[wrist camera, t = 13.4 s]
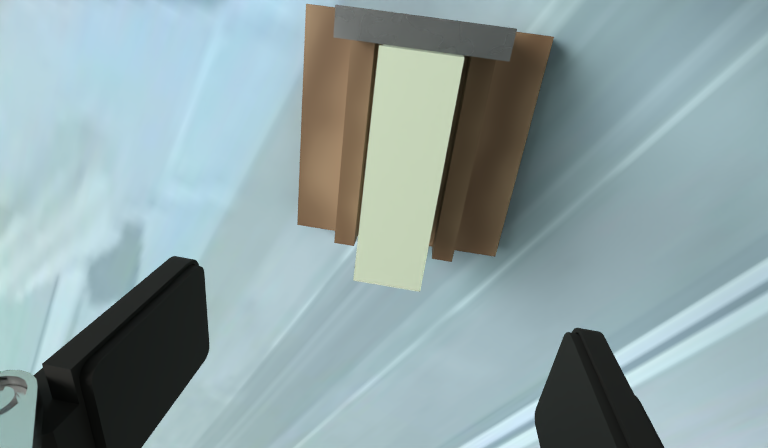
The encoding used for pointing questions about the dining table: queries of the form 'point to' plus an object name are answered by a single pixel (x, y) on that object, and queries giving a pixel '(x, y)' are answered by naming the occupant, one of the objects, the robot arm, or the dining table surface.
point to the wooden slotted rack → (465, 147)
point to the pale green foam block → (405, 163)
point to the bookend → (424, 33)
